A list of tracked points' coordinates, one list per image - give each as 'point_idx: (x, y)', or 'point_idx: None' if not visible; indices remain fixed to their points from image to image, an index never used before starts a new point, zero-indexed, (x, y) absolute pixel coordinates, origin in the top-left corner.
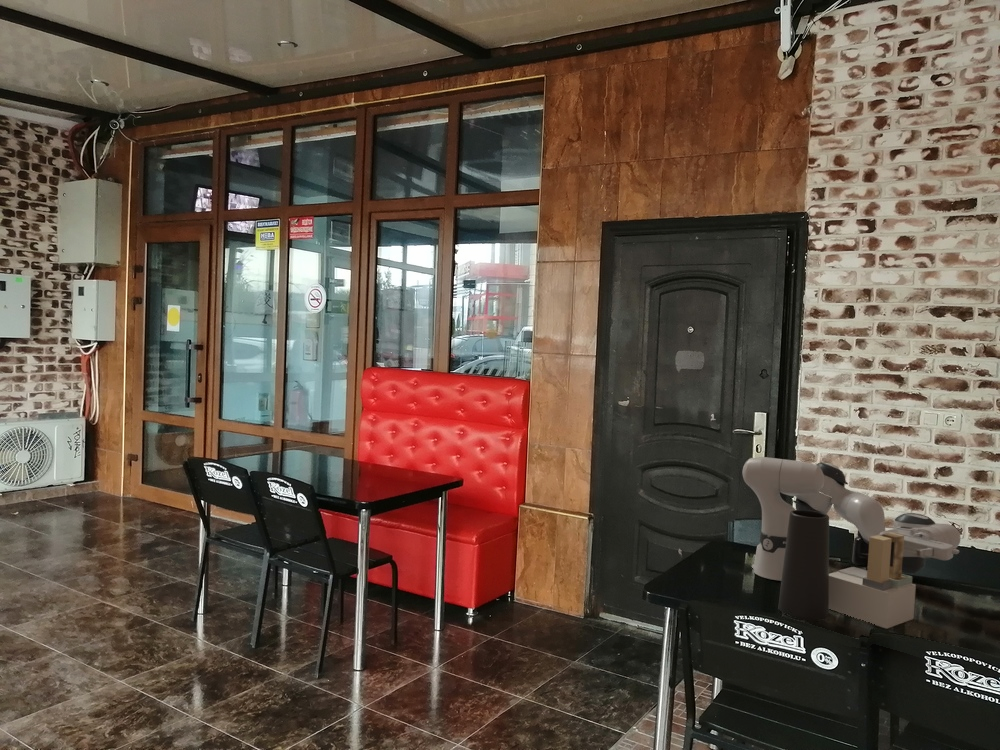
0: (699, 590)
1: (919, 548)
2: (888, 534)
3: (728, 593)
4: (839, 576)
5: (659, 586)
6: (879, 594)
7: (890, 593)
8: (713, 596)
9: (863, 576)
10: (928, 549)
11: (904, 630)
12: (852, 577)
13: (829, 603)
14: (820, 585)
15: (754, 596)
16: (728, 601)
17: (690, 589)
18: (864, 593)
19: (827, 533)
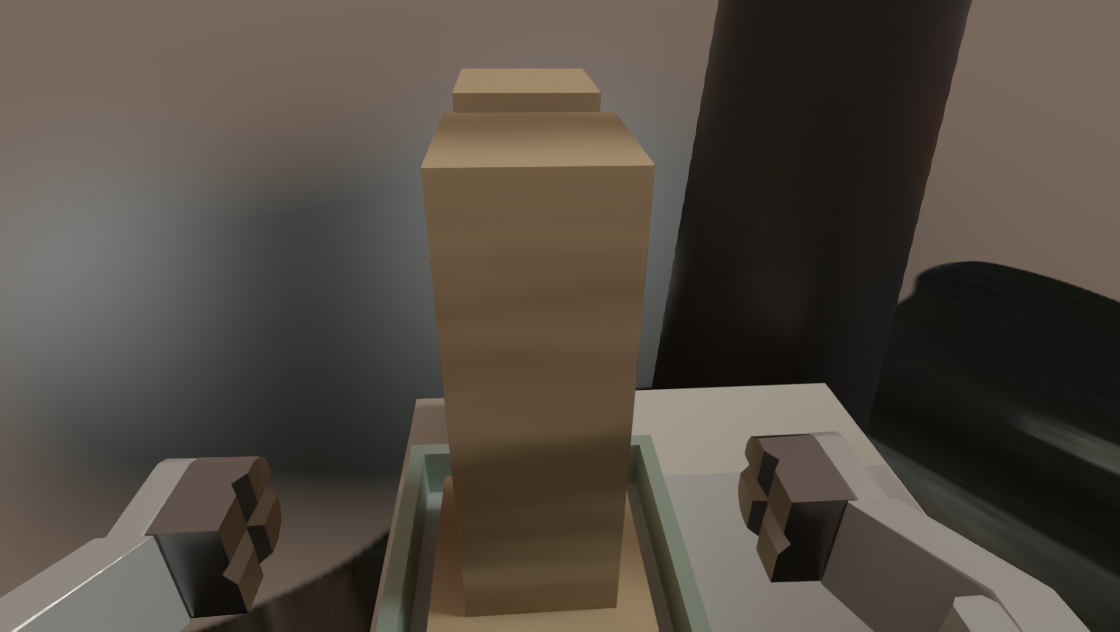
0: (1022, 328)
1: (220, 522)
2: (571, 122)
3: (998, 369)
4: (777, 413)
5: (1047, 284)
6: None
7: (415, 413)
8: (952, 326)
9: (709, 494)
10: (6, 595)
11: (359, 613)
12: (742, 458)
13: None
14: (669, 285)
15: (966, 410)
16: (896, 330)
17: (1030, 318)
18: None
19: (724, 33)
